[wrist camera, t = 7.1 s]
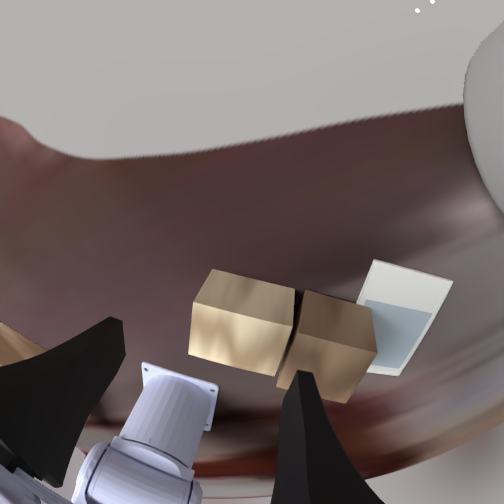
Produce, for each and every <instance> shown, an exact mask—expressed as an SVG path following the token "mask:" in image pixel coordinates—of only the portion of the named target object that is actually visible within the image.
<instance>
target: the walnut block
mask: <svg viewBox="0 0 504 504" xmlns="http://www.w3.org/2000/svg"><path fill="white" fill-rule="evenodd" d="M377 353H378V352H377V345H376V338H375V332H374V326H373V320H372V314H371V308H369V307H366V306H362V305H358V304H355V303H351V302H348V301H344V300H341V299H337V298H333V297H330V296H326V295H323V294H319V293H316V292H312V291H309V290H305V293H304V295H303V298H302V301H301V304H300V307H299V310H298V313H297V315H296V318H295V321H294V324H293V328H292V330H291V333H290V336H289V339H288V341H287V344H286V348H285V352H284V356H283V361H282V365H281V369H280V373H279V377H278V381H277V385H276V387H279V388H283V389H287V390H288V389H289V386H290V384H291V382H292V380H293V378H294V375H295V373H296V371H297V370H302V371H308V372H312V373H313V374H314V377H315V381H316V384H317V387H318V390H319V393H320V396H321V398H323V399H327V400H332V401H336V402H341V403H346V402H347V400H348V399H349V397H350V396H351V394H352V393H353V391H354V390H355V388H356V387H357V385H358V384H359V382H360V381H361V379H362V378H363V376H364V375H365V373H366V371H367V370H368V368H369V367H370V365H371V363H372V362H373V360H374V358H375V357H376V355H377Z"/></svg>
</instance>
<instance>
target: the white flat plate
mask: <svg viewBox="0 0 504 504" xmlns="http://www.w3.org/2000/svg"><path fill="white" fill-rule="evenodd" d="M452 283H453V281H452V280H450V279H446V278H443V277H439V276H435V275H432V274H428V273H425V272H421V271H417V270H414V269H410V268H406V267H403V266H399V265H395V264H392V263H388V262H384V261H380V260H376V259H374V260H373V262H372V265H371V268H370V270H369V273H368V275H367V278H366V280H365V283H364V285H363V287H362V290H361V292H360V295H359V297H358V299H357V302H356V304H358V305H362V306H366V307H369V308H371V314H372V320H373V326H374V332H375V338H376V345H377V352H378V353H377V355H376V357H375V358H374V360H373V362H372V363H371V365H370V367H369V368H368V370H367V371H366V372H370V373H378V374H385V375H393V376H399V375H400V373H401V372H402V370H403V369H404V367H405V366H406V364H407V363H408V361H409V360H410V358H411V357H412V355H413V353H414V352H415V350H416V349H417V347H418V345H419V344H420V342H421V341H422V339H423V337H424V336H425V334H426V332H427V330H428V329H429V327H430V325H431V323H432V322H433V320H434V318H435V316H436V315H437V313H438V311H439V309H440V307H441V305H442V303H443V301H444V299H445V298H446V296H447V294H448V292H449V290H450V288H451V286H452Z"/></svg>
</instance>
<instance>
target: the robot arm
mask: <svg viewBox="0 0 504 504" xmlns="http://www.w3.org/2000/svg"><path fill="white" fill-rule="evenodd" d="M125 355H126V353H125V344H124V334H123V323H122V321H121V320H119V319H116V318H113V317H111V316H110V317H108V318H106V319H104V320H103V321H101V322H99V323H98V324H96V325H94V326H93V327H91V328H89V329H87V330H86V331H84V332H82V333H81V334H79V335H77V336H75V337H74V338H72V339H70V340H68V341H66V342H64V343H62V344H60V345H58V346H56V347H55V348H53V349H51V350H48V351H46V352H44V353H42V354H39V355H37V356H34V357H31V358H29V359H26V360H22V361H19V362H16V363H12V364H9V365H5V366H0V504H41V501H40V499H41V500H42V501H44V502H46V503H47V504H201V500H202V489H201V487H200V485H199V482H198V481H195V480H192V479H193V476H194V472H195V471H194V470H192V469H191V468H192V465H193V461H194V458H195V455H196V452H197V449H198V446H199V443H200V440H201V437H202V434H203V430H205V431H210V429H211V425H212V420H213V415H214V410H215V405H216V400H217V395H218V390H219V386H218V385H217V384H214V383H211V382H207V381H204V380H200V379H197V378H193V377H190V376H187V375H183V374H180V373H177V372H174V371H171V370H168V369H165V368H162V367H159V366H156V365H153V364H150V363H147V362H143V363H142V374H143V384H144V389H143V391H142V393H141V395H140V397H139V399H138V401H137V402H136V404H135V406H134V408H133V410H132V412H131V414H130V416H129V418H128V419H127V421H126V423H125V425H124V427H123V429H122V431H121V433H120V435H119V437H117V436H115V437H114V439H113V441H112V442H111V443H109V442H107V441H102V442H99V443H96V444H95V445H94V446H93V447H92V449H91V450H90V452H89V453H88V455H87V457H86V459H85V461H84V462H83V465H82V467H81V469H80V472H79V475H78V477H77V481H76V489H75V491H74V494H73V497H72V499H71V501H72V502H70V501H68V500H67V499H65V498H63V497H61V496H60V495H58V494H57V493H55V492H53V491H52V490H50V489H48V488H47V487H46V486H44V485H43V484H41V483H39V482H38V481H37V480H35V479H34V477H36V478H37V479H39V480H40V481H42V480H44V481H45V482H47V483H48V484H50V485H51V486H53V487H54V488H59V487H62V485H63V481H64V478H65V474H66V471H67V468H68V464H69V462H70V459H71V456H72V453H73V451H74V448H75V446H76V443H77V441H78V438H79V436H80V434H81V432H82V430H83V427H84V425H85V423H86V421H87V419H88V417H89V415H90V414H91V412H92V410H93V409H94V407H95V406H96V404H97V403H98V401H99V400H100V398H101V397H102V395H103V394H104V392H105V391H106V389H107V388H108V386H109V385H110V383H111V382H112V380H113V379H114V377H115V375H116V374H117V372H118V370H119V368H120V366H121V364H122V362H123V360H124V358H125ZM145 368H147V369H148V370H146V369H145ZM211 389H214V390H215V391H212V390H211ZM206 424H208V425H206ZM271 504H385V503H384V502H383V501H382V500H380V498H379V497H378V496H377V495H376V494H375V493H374V492H373V491H372V489H371V488H370V487H369V486H368V484H367V483H366V482H365V480H364V479H363V478H362V476H361V475H360V474H359V472H358V471H357V470H356V468H355V467H354V465H353V464H352V462H351V460H350V459H349V457H348V456H347V454H346V452H345V450H344V449H343V447H342V445H341V443H340V441H339V439H338V437H337V435H336V433H335V431H334V429H333V427H332V424H331V422H330V420H329V417H328V415H327V412H326V410H325V407H324V405H323V402H322V399H321V396H320V393H319V390H318V387H317V384H316V381H315V377H314V374H313V373H312V372H308V371H302V370H297V371H296V373H295V375H294V378H293V380H292V382H291V384H290V386H289V389H288V391H287V393H286V395H285V397H284V399H283V404H282V410H281V416H280V422H279V439H278V457H277V471H276V479H275V484H274V489H273V494H272V499H271Z"/></svg>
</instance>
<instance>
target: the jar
mask: <svg viewBox="0 0 504 504" xmlns="http://www.w3.org/2000/svg"><path fill="white" fill-rule="evenodd" d="M430 1H431V3H435V2H434V0H430ZM416 12H420V10H419V9H416ZM463 101H464V118H465V123H466V129H467V134H468V140H469V143H470V147H471V150H472V153H473V157H474V160H475V163H476V166H477V168H478V170H479V173H480V175H481V178H482V180H483V183H484V185H485V187H486V188H487V190H488V192H489V194H490V195H491V197H492V199H493V201H494V203H495V204H496V205H497V207H498V208H499V209H500V211H501V212H502V213H503V215H504V21H503V22H502V23H501V24H500V25H499V26H498V27H497V28H496V29H495V30H494V31H493V32H492V33H491V34H490V35H489V36H488V37H487V38H486V39H485V40H483V41H482V42H481V44H480V45H479V47H478V49H477V50H476V52H475V53H474V55H473V56H472V58H471V60H470V62H469V65H468V68H467V72H466V75H465V82H464V92H463Z"/></svg>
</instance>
